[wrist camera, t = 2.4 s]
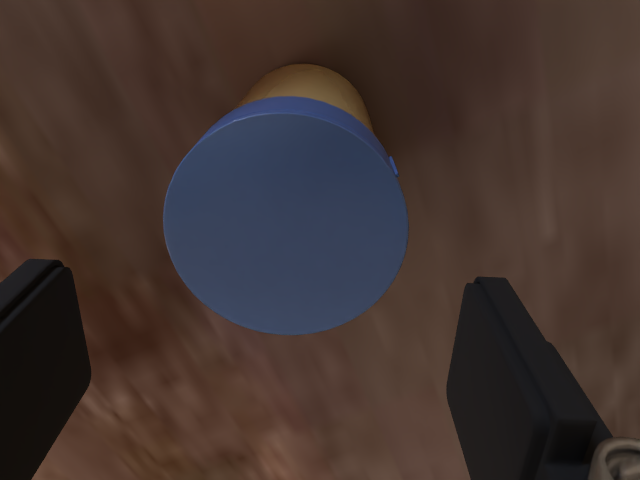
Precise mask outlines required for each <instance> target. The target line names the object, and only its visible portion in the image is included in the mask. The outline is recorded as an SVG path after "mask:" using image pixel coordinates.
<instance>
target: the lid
mask: <svg viewBox="0 0 640 480" xmlns="http://www.w3.org/2000/svg"><path fill="white" fill-rule="evenodd" d="M397 177H399V174H398V171H397V168H396V166H395V163H394V161H393V158H392V156H390V157H389V156H388V154H387V153H386V151H385V149H384V147H383V146H382V144H381V143H380V142H379V140H378V139H377V138H376V137H375V135H374V134H373V133H372V132H371V131H370V130H369V129H368V128H367V127H366V126H365V125H364V124H363V123H361V122H360V121H359V120H357V119H356V118H355V117H353V116H352V115H351V114H349V113H347V112H345V111H344V110H342V109H340V108H338V107H336V106H333V105H331V104H328V103H326V102H323V101H319V100H315V99H311V98H306V97H296V96H277V97H271V98H265V99H260V100H257V101H254V102H250V103H247V104H245V105H243V106H241V107H239V108H236V109H234V110H233V111H231V112H229V113H228V114H226V115H225V116H223V117H222V118H221V119H219V120H218V121H217V122H216V123H215V124H214V125H213V126H211V127H210V128H209V130H208V131H207V132H206V133H205V134H204V135H203V137H202V138H201V139H200V140H199V141H198V142H197V143H196V145H195V146H194V147H193V148H192V149H191V150H190V152H189V153H188V154H187V155H186V156H185V157H184V159H183V160H182V162H181V163H180V165H179V166H178V168H177V170H176V171H175V173H174V175H173V177H172V180H171V182H170V184H169V187H168V191H167V195H166V198H165V204H164V213H163V224H164V235H165V240H166V245H167V248H168V251H169V254H170V257H171V260H172V262H173V264H174V266H175V268H176V270H177V272H178V274H179V275H180V277H181V278H182V280H183V281H184V283H185V284H186V286H187V287H188V288H189V289H190V290H191V291H192V293H193V294H194V295H195V296H196V297H197V298H198V299H199V300H200V301H201V302H203V303H204V304H205V305H206V306H207V307H209V308H210V309H211V310H213V311H214V312H215V313H217V314H219V315H220V316H222V317H224V318H225V319H227V320H229V321H231V322H233V323H236V324H238V325H240V326H243V327H246V328H249V329H252V330H255V331H259V332H264V333H269V334H279V335H303V334H311V333H317V332H321V331H325V330H329V329H331V328H334V327H337V326H340V325H342V324H344V323H346V322H348V321H350V320H352V319H354V318H356V317H357V316H359V315H360V314H362V313H363V312H365V311H366V310H367V309H369V308H370V307H371V306H372V305H373V304H375V303H376V302H377V301H378V300H379V299H380V297H381V296H382V295H383V294H384V293H385V292H386V291H387V289H388V288H389V286H390V285H391V284H392V282H393V281H394V279H395V277H396V275H397V273H398V271H399V269H400V267H401V265H402V262H403V259H404V256H405V253H406V248H407V243H408V231H409V222H408V212H407V207H406V203H405V199H404V195H403V192H402V190H401V187H400V184H399V181H398V179H397Z"/></svg>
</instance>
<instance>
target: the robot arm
mask: <svg viewBox="0 0 640 480" xmlns="http://www.w3.org/2000/svg"><path fill="white" fill-rule="evenodd" d="M90 380H91V366H90V361H89V356H88V351H87V346H86V341H85V335H84V330H83V325H82V320H81V315H80V310H79V305H78V300H77V295H76V289H75V284H74V279H73V274H72V271H71V270H70V268H68V267H64V265H63V264H62V262H61V261H59V260H44V259H29V260H27V261H25V262H24V263H23V264H22V265H21V266H20V267H19V268H17V269H16V270H15V271H14V272H13V273H12V274H10V275H9V276H8V277H7V278H6V279H5V280H4V281H2V282H1V283H0V480H31V479H32V477H33V476H34V474H35V473H36V471H37V469H38V468H39V466H40V464H41V463H42V461H43V460H44V458H45V456H46V455H47V453H48V451H49V450H50V448H51V447H52V445H53V443H54V442H55V440H56V438H57V437H58V435H59V434H60V432H61V430H62V429H63V427H64V426H65V424H66V422H67V421H68V419H69V417H70V416H71V414H72V413H73V411H74V409H75V408H76V406H77V404H78V403H79V401H80V400H81V398H82V396H83V395H84V393H85V391H86V390H87V388H88V386H89V383H90ZM447 400H448V404H449V407H450V411H451V414H452V417H453V421H454V424H455V428H456V431H457V434H458V438H459V441H460V444H461V448H462V451H463V454H464V458H465V461H466V464H467V468H468V471H469V474H470V478H471V480H640V440H639V439H636V438H629V437H614V438H613V436H612V435H611V433H610V431H609V430H608V428H607V427H606V425H605V424H604V422H603V421H602V419H601V418H600V416H599V415H598V413H597V411H596V410H595V408H594V407H593V405H592V404H591V402H590V401H589V399H588V398H587V396H586V395H585V393H584V392H583V390H582V388H581V387H580V385H579V384H578V382H577V381H576V379H575V378H574V376H573V375H572V373H571V372H570V370H569V369H568V367H567V365H566V364H565V362H564V361H563V359H562V358H561V356H560V355H559V353H558V352H557V350H556V349H555V347H554V346H553V345H552V344H551V343H549V342H547V341H546V340H545V338H544V337H543V335H542V334H541V332H540V330H539V329H538V327H537V326H536V324H535V323H534V321H533V319H532V318H531V316H530V315H529V313H528V312H527V310H526V309H525V307H524V305H523V304H522V302H521V301H520V299H519V298H518V296H517V294H516V293H515V291H514V290H513V288H512V287H511V285H510V283H509V282H508V280H507V279H506V278H496V277H477V278H476V279H475V281H474V283H467V284H466V286H465V289H464V294H463V299H462V305H461V310H460V315H459V321H458V326H457V332H456V337H455V342H454V348H453V353H452V359H451V364H450V369H449V375H448V380H447Z"/></svg>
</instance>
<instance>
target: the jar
mask: <svg viewBox="0 0 640 480" xmlns="http://www.w3.org/2000/svg"><path fill="white" fill-rule="evenodd" d="M277 96H296V97H306V98H311V99H315V100H319V101H323V102H326V103H328V104H331V105H333V106H336V107H338V108H340V109H342V110H344V111H345V112H347V113H349V114H351V115H352V116H353V117H355V118H356V119H357V120H359V121H360V122H361V123H363V124H364V125H365V126H366V127H367V128H368V129H369V130H370V131H371V132H372V133H373V134H374V135H375V133H374V130H373V127H372V123H371V120H370V117H369V114H368V111H367V108H366V106H365V103H364V101H363V99H362V98H361V96H360V94H359V93H358V92H357V90H356V89H355V88H354V86H353V85H352V84H351V83H350V82H349V81H348V80H346V79H345V78H344V77H342V76H341V75H340V74H338V73H336V72H334V71H333V70H330V69H328V68H325V67H322V66H318V65H314V64H292V65H287V66H284V67H280V68H278V69H276V70H273V71H271V72H270V73H268V74H266V75H265V76H263V77H262V78H261V79H260V80H259V81H258V82H256V83H255V85H254V86H253V87H252V88H251V89H250V90H249V92H248V93H247V94H246V95H245V97H244V98H243V99H242V100H241V102H240V103H239V104H238V105H237V107H236V108H239V107H241V106H243V105H245V104H247V103H250V102H254V101H257V100H260V99H265V98H271V97H277ZM236 108H235V109H236ZM375 137H376V136H375Z"/></svg>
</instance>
